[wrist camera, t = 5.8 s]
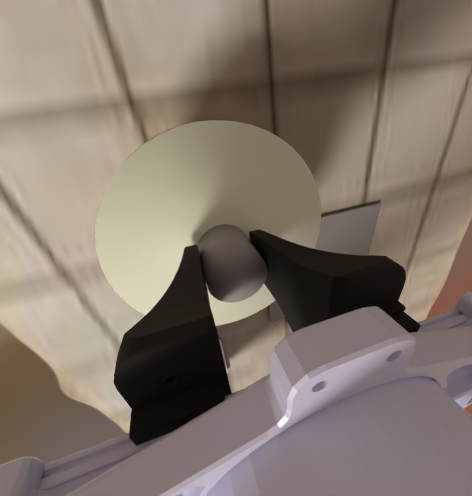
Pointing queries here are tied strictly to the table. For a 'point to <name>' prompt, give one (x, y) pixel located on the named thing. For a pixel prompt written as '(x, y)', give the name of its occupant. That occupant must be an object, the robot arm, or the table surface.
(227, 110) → the table surface
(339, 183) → the table surface
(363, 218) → the mat
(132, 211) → the lid
